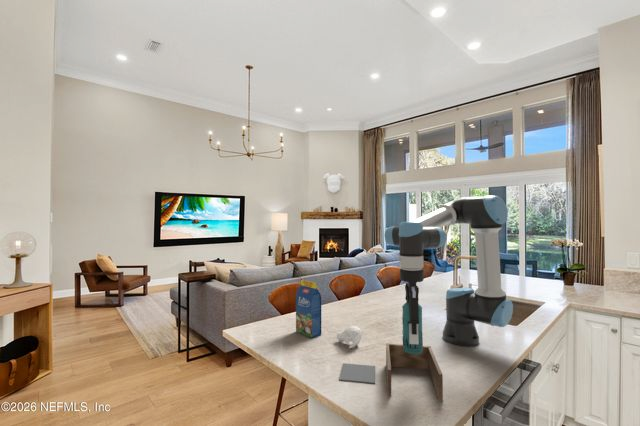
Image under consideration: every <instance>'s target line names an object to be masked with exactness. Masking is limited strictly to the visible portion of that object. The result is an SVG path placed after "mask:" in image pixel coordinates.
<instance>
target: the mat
mask: <svg viewBox="0 0 640 426" xmlns="http://www.w3.org/2000/svg"><path fill="white" fill-rule="evenodd" d="M338 381H341V382H352V383H360V384H361V383H362V384H363V383H364V384H371V385H372V384H373V385H375V384H376V365H369V364H368V365H367V364H355V363H342V367H341V370H340V374H339V378H338Z"/></svg>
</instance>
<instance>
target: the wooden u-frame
mask: <svg viewBox="0 0 640 426" xmlns="http://www.w3.org/2000/svg"><path fill="white" fill-rule="evenodd" d="M385 362H386V363H385V365H386V366H385V367H386V369H385V370H386V381H387V383H386V384H387V385H386V386H387V397H392V367H393V368H394V367H395V368H403V369H404V368H405V369H416V370H417V369H418V370H426V371H427V370H428V372H429V375H430V379H431V381H432V383H433V386H434V387H433V388H434V390H435V392H436V395H437V399H438V401H439V402H444V394H443V393H444V391H443V387H444V386H443V385H444V384H443V382H444V381H443V376H444V375H443V372H442V369H441V368H440V366H439V362H438V361H437V359H436V355H435V354H434V351H433V348H432V346H428V345H423V351H422V353H419V354H411V353H407V352H405V351H404V349H403V343H402V344H401V343H400V344H399V343H389V342H388V343H387V342H386V344H385Z"/></svg>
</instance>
